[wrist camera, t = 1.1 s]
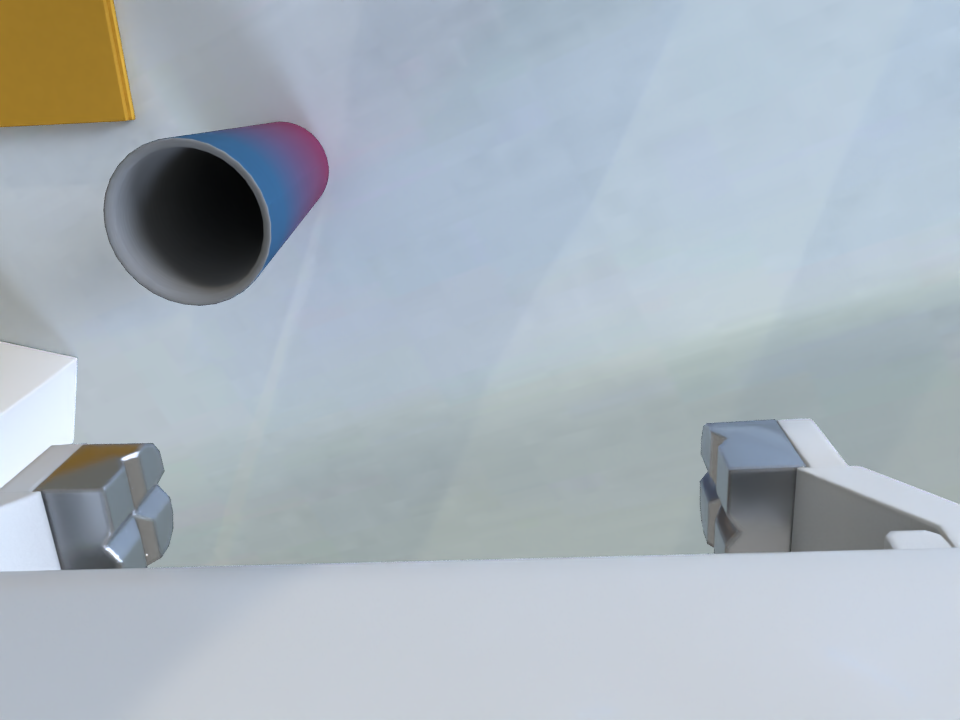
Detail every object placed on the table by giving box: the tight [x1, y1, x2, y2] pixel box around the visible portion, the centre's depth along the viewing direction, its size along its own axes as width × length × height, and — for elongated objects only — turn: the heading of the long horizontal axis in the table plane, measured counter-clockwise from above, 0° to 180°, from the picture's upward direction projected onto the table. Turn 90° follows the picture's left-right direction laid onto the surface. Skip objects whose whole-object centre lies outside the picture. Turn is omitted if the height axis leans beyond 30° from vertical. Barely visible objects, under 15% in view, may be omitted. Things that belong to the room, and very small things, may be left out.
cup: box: [103, 122, 329, 306], centre depth 42 cm, size 7×7×15 cm
